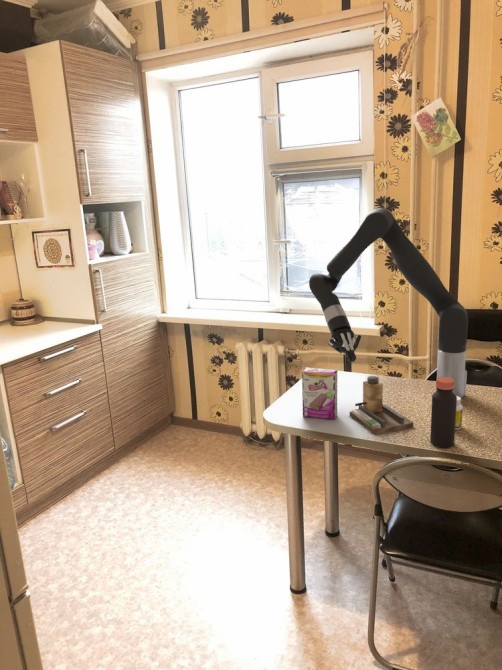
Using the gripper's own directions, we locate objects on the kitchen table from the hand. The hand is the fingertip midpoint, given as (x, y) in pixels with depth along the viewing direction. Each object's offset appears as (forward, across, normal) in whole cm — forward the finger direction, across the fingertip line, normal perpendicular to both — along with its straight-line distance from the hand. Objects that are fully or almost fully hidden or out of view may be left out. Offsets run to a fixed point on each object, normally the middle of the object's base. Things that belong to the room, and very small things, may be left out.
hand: (353, 361), depth 194 cm
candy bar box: (+15, -16, +6) cm, 23 cm away
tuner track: (+24, 0, -2) cm, 24 cm away
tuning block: (+19, -2, 0) cm, 19 cm away
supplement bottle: (+33, +18, -11) cm, 39 cm away
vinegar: (+39, +8, -17) cm, 43 cm away
